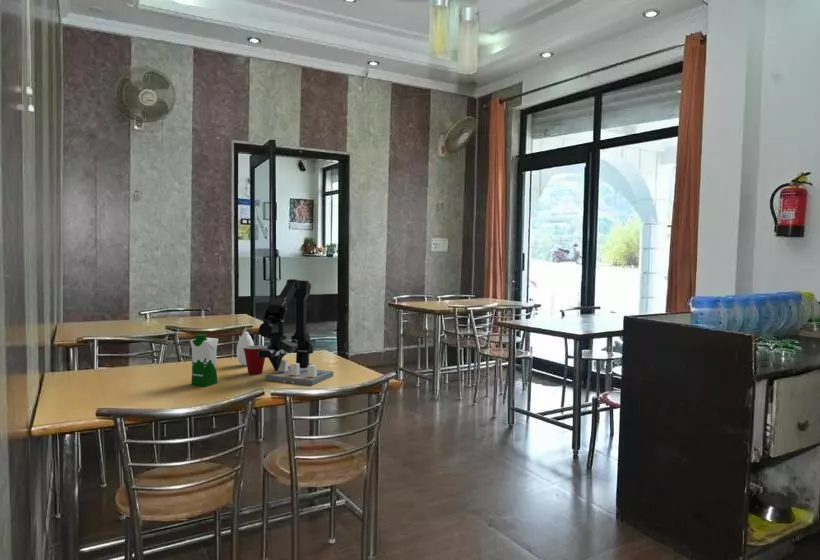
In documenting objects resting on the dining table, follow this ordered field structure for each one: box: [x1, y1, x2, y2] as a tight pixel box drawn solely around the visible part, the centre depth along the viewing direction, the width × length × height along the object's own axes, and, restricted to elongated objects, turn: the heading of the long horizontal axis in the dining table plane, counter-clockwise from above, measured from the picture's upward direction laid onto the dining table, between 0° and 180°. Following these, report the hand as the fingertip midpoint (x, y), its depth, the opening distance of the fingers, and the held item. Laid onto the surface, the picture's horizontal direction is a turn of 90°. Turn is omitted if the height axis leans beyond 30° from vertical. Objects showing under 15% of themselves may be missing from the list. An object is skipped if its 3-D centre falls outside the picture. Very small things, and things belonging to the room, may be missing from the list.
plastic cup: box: [243, 344, 269, 375], centre depth 244 cm, size 11×11×12 cm
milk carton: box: [189, 333, 219, 388], centre depth 223 cm, size 9×9×20 cm
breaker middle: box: [290, 362, 301, 376], centre depth 233 cm, size 3×3×5 cm
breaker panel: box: [264, 366, 334, 386], centre depth 237 cm, size 18×22×2 cm
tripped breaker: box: [279, 358, 289, 372], centre depth 239 cm, size 3×3×5 cm
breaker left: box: [307, 364, 318, 378], centre depth 230 cm, size 3×3×5 cm
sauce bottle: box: [236, 326, 255, 367], centre depth 258 cm, size 8×8×18 cm
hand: (276, 370), depth 235 cm, fingers closed
